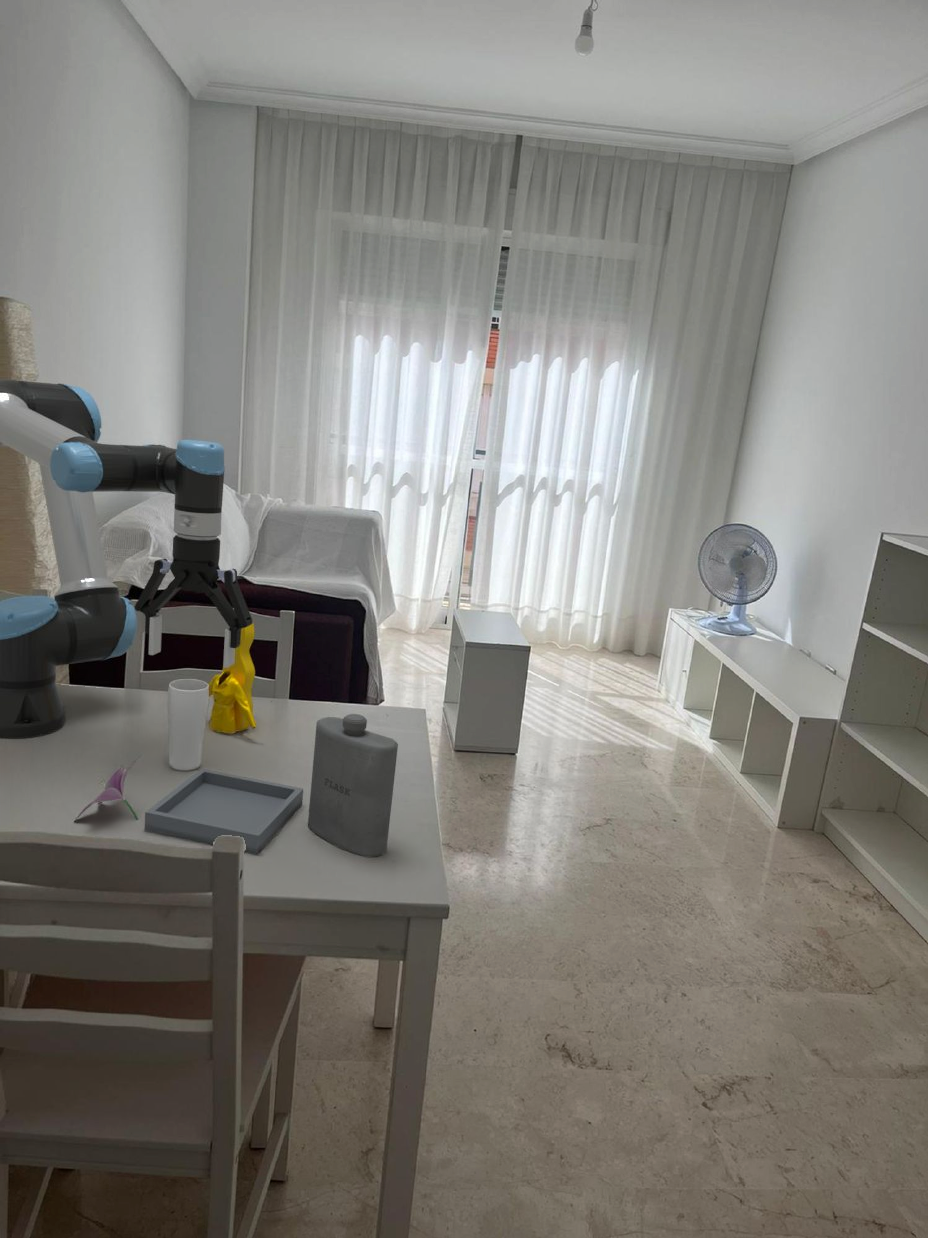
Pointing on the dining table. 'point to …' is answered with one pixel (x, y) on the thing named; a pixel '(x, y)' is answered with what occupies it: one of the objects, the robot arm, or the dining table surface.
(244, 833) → the tray
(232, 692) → the figure statuette
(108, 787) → the lily
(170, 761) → the drinking glass
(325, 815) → the flask
